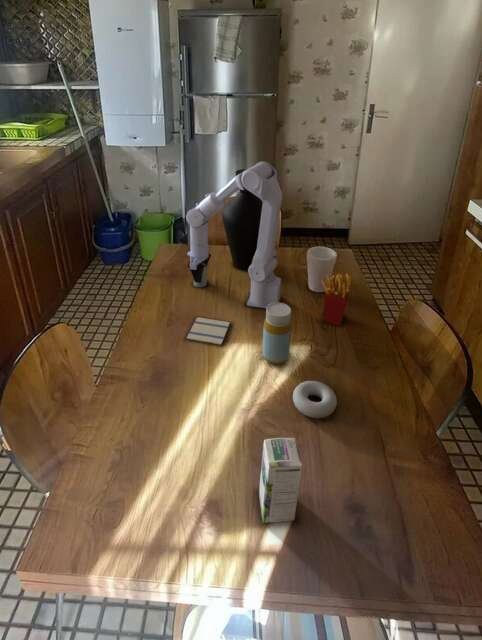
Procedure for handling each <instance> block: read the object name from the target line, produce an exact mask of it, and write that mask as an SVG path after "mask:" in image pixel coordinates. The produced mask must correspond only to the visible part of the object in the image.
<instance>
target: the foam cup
mask: <svg viewBox="0 0 482 640" xmlns="http://www.w3.org/2000/svg"><path fill="white" fill-rule="evenodd" d="M337 256H338V253H337V252H336V251H335V250H334V249H332V248H331V247H326V246H312V247H310V248H307V251H306V262H307V264H306V265H307V287H308V289H309V290H311V291H312V292H315V293H325V292H326V290H325V287H324V285H323V283H322V282H321V281H322V280H323V279H324V280H325V282H326V284H327V286H328V284H329V283H328V279H327V277H326V276H327V275H328V276H329V277H330V278H331V277H332V275H333V270H334V267H335V264H336V263H337Z"/></svg>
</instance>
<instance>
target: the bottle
mask: <svg viewBox="0 0 482 640" xmlns="http://www.w3.org/2000/svg"><path fill="white" fill-rule="evenodd" d="M265 309H266V310H265V319H264V322H263V327H262V328H263V331H262V345H261V346H262V347H261V355H262V358H263V360H264V361H265V362H267V363H269V364H272V365H282V364H283V363H285V362H287V361H288V360H289V357H290V356H289V355H290V346H291V336H292V322H291V317H292V308H291V307H290V306H289V305H288V304H286V303H284V302H279V303H272V304H269V305H268V306H267V308H265Z"/></svg>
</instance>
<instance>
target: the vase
mask: <svg viewBox="0 0 482 640" xmlns="http://www.w3.org/2000/svg"><path fill="white" fill-rule="evenodd" d="M247 169H248V168H242V169H238V170H235V172H234V173H235V177H236V176H237V175H239V174H241V173H242V172H244V171H245V170H247ZM238 191H239V192H238V193H237V194H236V195H235V196H234V197H233V198H232V199H231V200H230V201H229V202H228V203H226V204H225V205H224V207H223V208H222V213H221V218H222V223H223V224H222V225H223V228H224V232H225V236H226V240H227V243H228V244H227V245H228V248H229V252H230V256H231V260H232V265H233V267H234V268H236V269H237V270H239V271H248V269H249V266H250V265H251V264H252V261H253V257H254V255H255V253H256V250H257V243H258V236H259V228H260V220H261V213H262V205H263V201H262V200H261V199H260V198H259V197H257V196H256V195H254V194H253V193H251V192H250V191H248V190H247V189H245V190H241V189H239V190H238Z"/></svg>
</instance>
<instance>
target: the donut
mask: <svg viewBox="0 0 482 640" xmlns="http://www.w3.org/2000/svg"><path fill="white" fill-rule="evenodd" d="M311 396H312V397H313V396H314V397H317V398H319V399H320V400H321V401H312V400H311V399H309V398H308V397H311ZM292 401H293V404H294V407H295V408H296V409H297V410H298V412H300V413H301V414H302V415H304V416H305V417H309V418H311V419H312V418H313V419H325V418H327V417H329V416H330V415H332V414H333V413H335V410H336V407H337V406H338V405H337V404H338V402H337V396H336V394H335V392H334V390H333V389H332V388H331V387H330V386H328V385H327V384H326V383H323V382H321V381H316V380H305V381H303V382H300V383H299V384H298V385H297V386H296V387H295V388H294V390H293V393H292Z"/></svg>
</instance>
